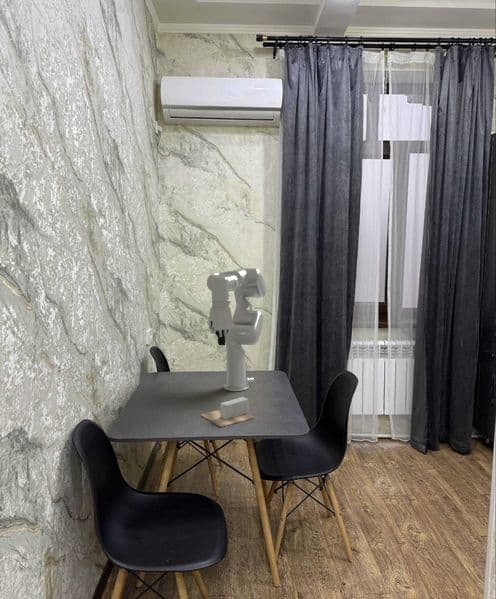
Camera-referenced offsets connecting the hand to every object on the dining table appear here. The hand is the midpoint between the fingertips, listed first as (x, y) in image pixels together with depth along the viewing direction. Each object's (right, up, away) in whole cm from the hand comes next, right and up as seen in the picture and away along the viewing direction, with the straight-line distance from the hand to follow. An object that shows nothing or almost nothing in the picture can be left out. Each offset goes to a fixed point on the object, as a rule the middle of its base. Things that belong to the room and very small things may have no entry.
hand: (221, 344), depth 201 cm
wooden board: (+3, -28, -16) cm, 33 cm away
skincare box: (+11, -24, -12) cm, 29 cm away
